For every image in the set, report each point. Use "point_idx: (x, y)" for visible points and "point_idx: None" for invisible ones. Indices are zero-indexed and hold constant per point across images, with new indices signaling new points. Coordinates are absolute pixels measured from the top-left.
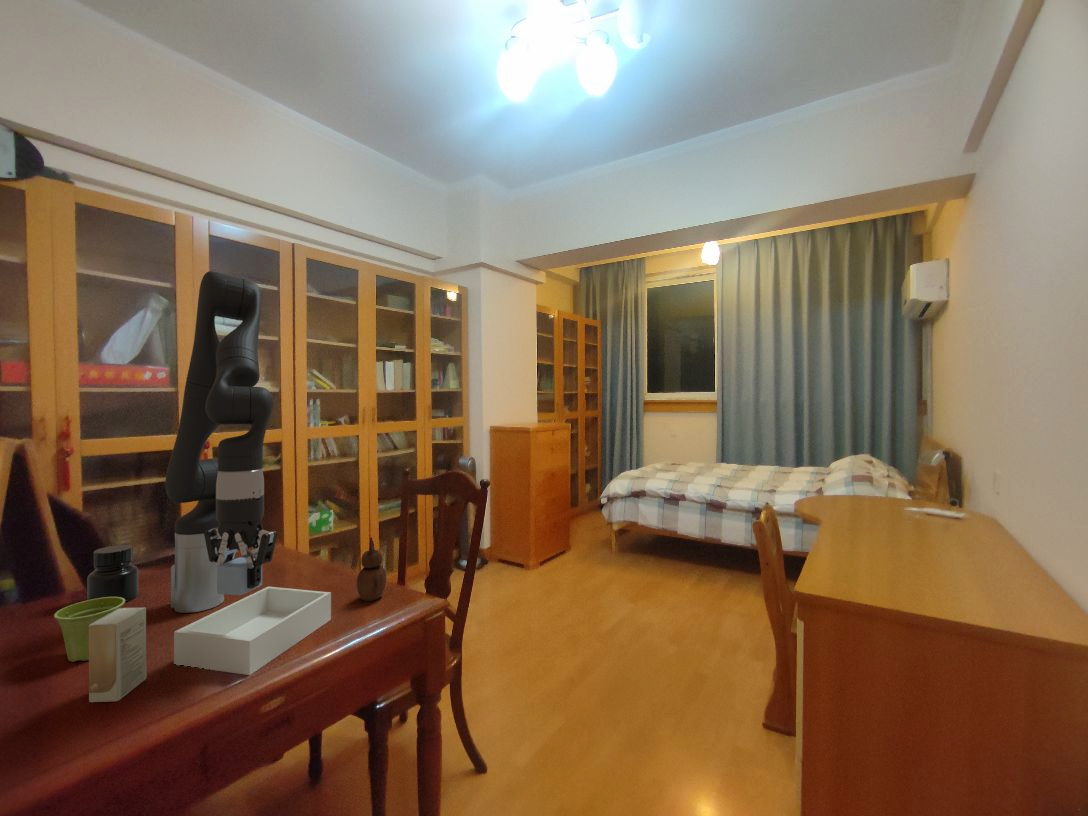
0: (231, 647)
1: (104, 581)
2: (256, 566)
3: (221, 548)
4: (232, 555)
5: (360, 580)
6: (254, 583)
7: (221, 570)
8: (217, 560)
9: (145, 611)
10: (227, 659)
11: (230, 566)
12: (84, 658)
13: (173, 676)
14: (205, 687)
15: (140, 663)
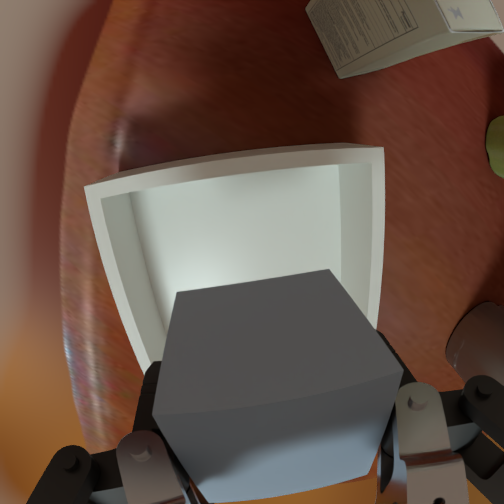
0: (155, 168)
1: None
2: (116, 448)
3: (449, 500)
4: (385, 474)
5: (192, 482)
6: (148, 369)
7: (350, 358)
8: (449, 404)
9: (438, 31)
10: (176, 162)
11: (274, 408)
12: (494, 120)
13: (292, 103)
14: (168, 96)
15: (348, 49)
